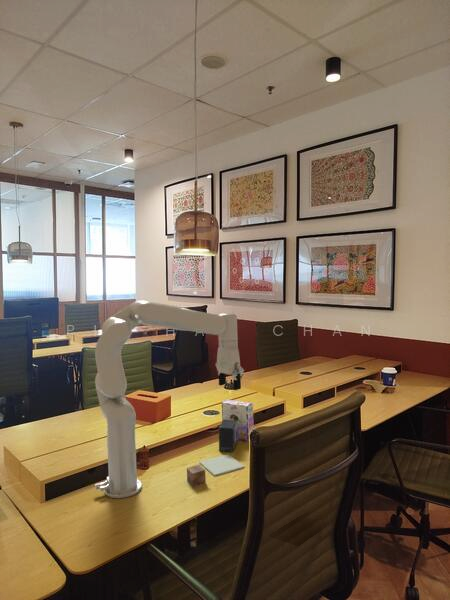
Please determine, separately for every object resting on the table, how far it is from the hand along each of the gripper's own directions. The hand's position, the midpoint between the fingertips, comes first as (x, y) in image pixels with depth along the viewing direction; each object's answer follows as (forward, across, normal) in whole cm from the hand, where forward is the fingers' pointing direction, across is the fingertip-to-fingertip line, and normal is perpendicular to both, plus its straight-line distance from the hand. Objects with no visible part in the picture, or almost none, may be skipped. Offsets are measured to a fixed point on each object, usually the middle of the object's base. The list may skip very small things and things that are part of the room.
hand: (229, 387), depth 162 cm
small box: (+30, -12, +7) cm, 33 cm away
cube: (+30, +6, -20) cm, 37 cm away
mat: (+30, 0, -6) cm, 30 cm away
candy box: (+30, -18, +17) cm, 39 cm away
